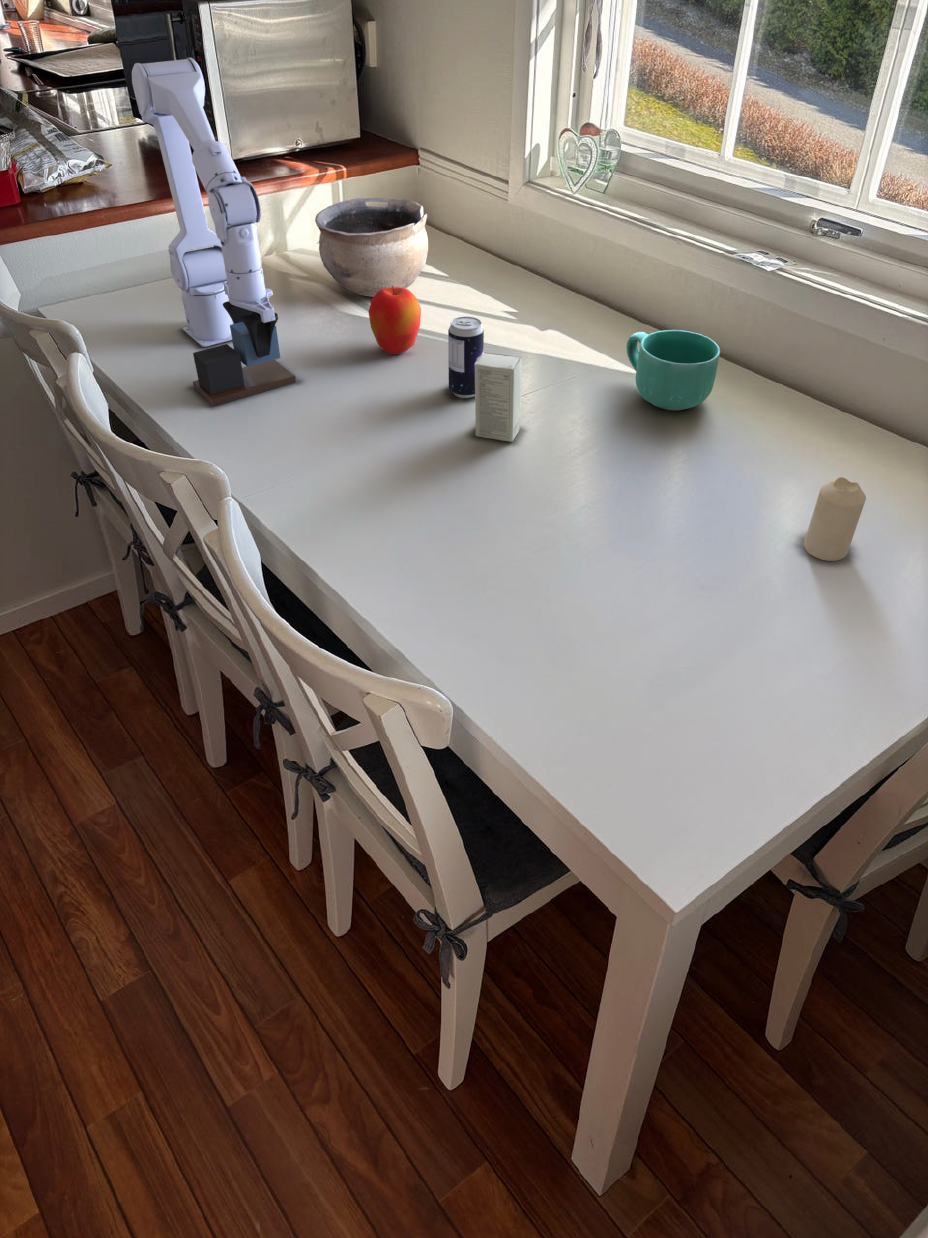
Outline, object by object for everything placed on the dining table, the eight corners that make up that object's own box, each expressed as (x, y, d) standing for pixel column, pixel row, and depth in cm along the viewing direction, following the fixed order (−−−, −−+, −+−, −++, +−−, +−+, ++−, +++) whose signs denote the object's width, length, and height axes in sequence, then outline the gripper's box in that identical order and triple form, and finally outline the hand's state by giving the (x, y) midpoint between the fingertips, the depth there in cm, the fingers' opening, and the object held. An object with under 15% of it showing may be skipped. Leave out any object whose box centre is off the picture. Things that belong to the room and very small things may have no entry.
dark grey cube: (198, 383, 153) (192, 352, 150) (232, 374, 156) (226, 343, 152) (211, 395, 150) (205, 363, 147) (245, 385, 153) (239, 354, 149)
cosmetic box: (520, 429, 144) (523, 356, 136) (512, 443, 141) (515, 369, 133) (482, 423, 146) (483, 350, 138) (473, 436, 143) (473, 362, 135)
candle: (797, 537, 123) (816, 472, 116) (837, 535, 123) (858, 471, 117) (812, 562, 119) (833, 497, 112) (854, 560, 119) (877, 495, 112)
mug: (726, 406, 150) (737, 351, 144) (669, 426, 145) (678, 370, 139) (657, 368, 161) (664, 315, 155) (601, 386, 156) (607, 332, 149)
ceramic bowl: (426, 311, 179) (424, 231, 169) (315, 310, 179) (306, 231, 170) (431, 270, 196) (429, 195, 186) (329, 269, 196) (322, 194, 186)
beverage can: (479, 401, 151) (480, 331, 144) (445, 398, 152) (444, 328, 144) (485, 385, 156) (487, 316, 148) (452, 382, 156) (452, 313, 149)
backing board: (193, 387, 155) (192, 381, 154) (274, 365, 161) (273, 358, 161) (213, 406, 150) (212, 399, 149) (295, 382, 156) (295, 375, 156)
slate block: (247, 367, 151) (242, 335, 148) (234, 356, 154) (229, 324, 151) (280, 358, 154) (276, 326, 150) (267, 347, 157) (262, 316, 153)
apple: (391, 367, 161) (388, 299, 153) (360, 350, 166) (355, 283, 158) (432, 351, 166) (431, 285, 158) (401, 336, 171) (398, 270, 163)
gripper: (287, 275, 142) (298, 358, 151) (246, 248, 151) (258, 328, 159) (245, 285, 139) (258, 370, 147) (206, 257, 147) (220, 338, 156)
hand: (256, 349), depth 153 cm, fingers closed on slate block, 5 cm apart
